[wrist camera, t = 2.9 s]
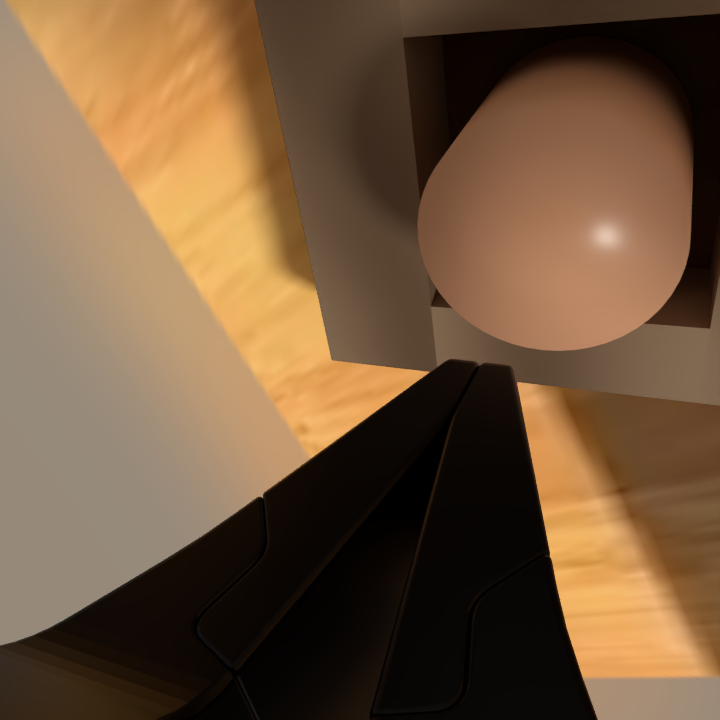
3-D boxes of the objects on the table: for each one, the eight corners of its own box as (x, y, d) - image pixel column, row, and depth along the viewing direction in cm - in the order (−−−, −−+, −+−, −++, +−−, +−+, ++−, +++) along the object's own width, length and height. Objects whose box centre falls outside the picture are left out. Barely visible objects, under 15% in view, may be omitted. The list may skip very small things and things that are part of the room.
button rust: (710, 27, 13) (711, 104, 10) (680, 246, 16) (673, 362, 12) (469, 44, 15) (404, 113, 12) (479, 239, 17) (428, 339, 14)
